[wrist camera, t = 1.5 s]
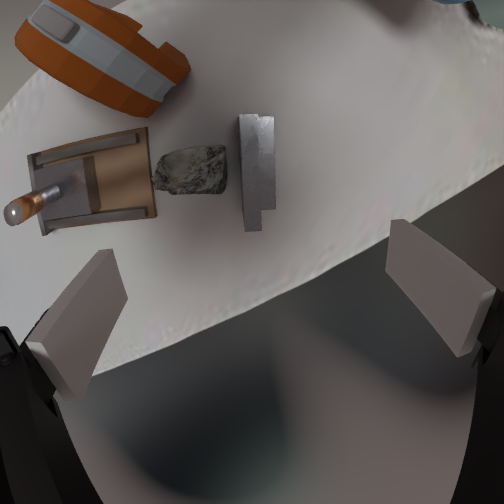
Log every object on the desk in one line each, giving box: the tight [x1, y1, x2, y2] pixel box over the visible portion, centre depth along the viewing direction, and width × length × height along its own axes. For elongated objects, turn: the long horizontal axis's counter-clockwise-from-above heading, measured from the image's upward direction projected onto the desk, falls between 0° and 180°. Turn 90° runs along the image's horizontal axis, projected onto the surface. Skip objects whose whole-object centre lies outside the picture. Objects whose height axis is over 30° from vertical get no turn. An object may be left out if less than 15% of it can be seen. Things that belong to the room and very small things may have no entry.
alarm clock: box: [15, 0, 191, 118], centre depth 23 cm, size 22×10×23 cm, turn 47°
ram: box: [4, 155, 101, 226], centre depth 32 cm, size 8×10×15 cm
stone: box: [151, 145, 227, 195], centre depth 38 cm, size 10×10×10 cm
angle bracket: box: [238, 114, 276, 232], centre depth 37 cm, size 14×5×10 cm, turn 2°
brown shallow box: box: [27, 127, 157, 236], centre depth 39 cm, size 14×21×4 cm, turn 92°
